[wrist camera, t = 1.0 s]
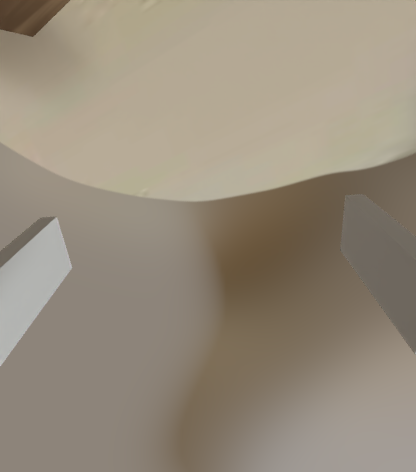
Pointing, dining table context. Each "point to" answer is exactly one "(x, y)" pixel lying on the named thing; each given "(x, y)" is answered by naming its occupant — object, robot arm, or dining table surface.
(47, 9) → the socket block
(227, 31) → the dining table surface
